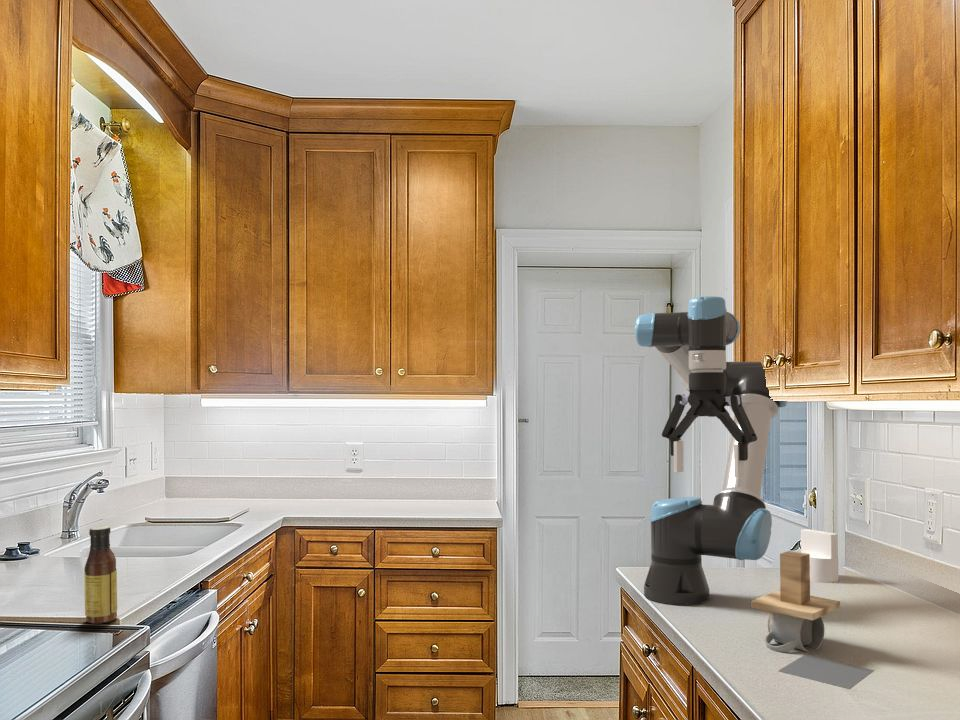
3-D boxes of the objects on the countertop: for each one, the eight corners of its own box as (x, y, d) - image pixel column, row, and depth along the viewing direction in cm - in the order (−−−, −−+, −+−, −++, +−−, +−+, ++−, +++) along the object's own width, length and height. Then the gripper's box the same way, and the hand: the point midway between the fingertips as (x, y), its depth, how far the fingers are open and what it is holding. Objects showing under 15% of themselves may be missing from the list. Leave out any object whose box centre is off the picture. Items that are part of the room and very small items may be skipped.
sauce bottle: (105, 614, 176) (106, 523, 177) (123, 619, 173) (124, 525, 174) (77, 622, 171) (78, 527, 171) (95, 627, 168) (96, 530, 168)
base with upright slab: (845, 579, 209) (844, 532, 209) (826, 584, 204) (825, 536, 204) (813, 572, 216) (812, 527, 217) (793, 577, 211) (793, 531, 211)
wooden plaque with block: (779, 595, 164) (779, 545, 164) (839, 607, 155) (839, 553, 155) (750, 607, 155) (750, 553, 156) (812, 620, 147) (812, 563, 147)
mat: (805, 657, 150) (805, 654, 150) (874, 673, 141) (874, 670, 141) (777, 673, 141) (777, 670, 141) (849, 692, 133) (849, 688, 133)
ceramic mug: (789, 637, 161) (788, 598, 161) (826, 649, 154) (825, 608, 154) (754, 648, 155) (753, 607, 155) (791, 660, 148) (789, 618, 148)
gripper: (645, 371, 174) (646, 471, 173) (756, 370, 156) (757, 481, 156) (663, 372, 179) (664, 468, 178) (773, 371, 162) (774, 477, 161)
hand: (708, 474), depth 167 cm, fingers open, 13 cm apart
